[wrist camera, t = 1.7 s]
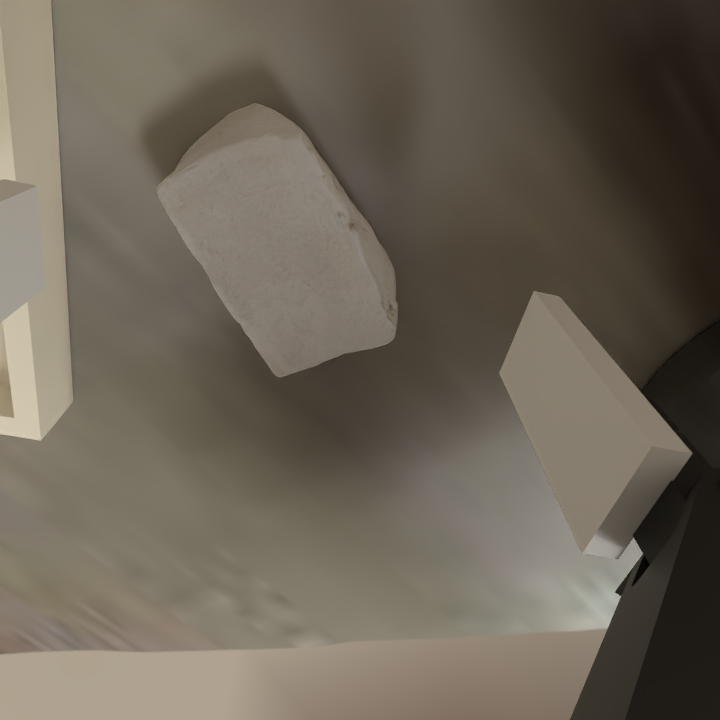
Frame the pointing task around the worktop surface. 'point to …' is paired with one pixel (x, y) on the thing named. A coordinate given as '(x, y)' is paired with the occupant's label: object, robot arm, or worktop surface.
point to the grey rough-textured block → (281, 241)
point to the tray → (40, 168)
